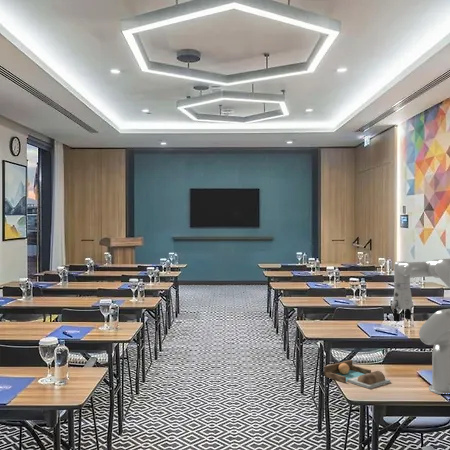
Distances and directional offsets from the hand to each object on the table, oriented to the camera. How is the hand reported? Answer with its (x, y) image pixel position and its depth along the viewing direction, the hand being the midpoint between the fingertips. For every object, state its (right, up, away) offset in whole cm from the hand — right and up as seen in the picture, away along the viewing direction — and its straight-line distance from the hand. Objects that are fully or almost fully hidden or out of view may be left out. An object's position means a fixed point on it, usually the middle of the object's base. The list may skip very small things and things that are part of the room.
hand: (402, 320), depth 255 cm
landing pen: (-28, -28, 0) cm, 39 cm away
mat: (-27, -28, 0) cm, 39 cm away
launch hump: (-19, -30, -12) cm, 38 cm away
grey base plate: (-20, -28, -10) cm, 36 cm away
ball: (-30, -28, +3) cm, 41 cm away
